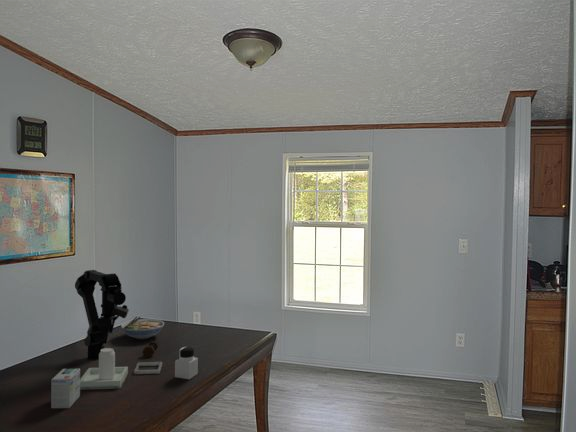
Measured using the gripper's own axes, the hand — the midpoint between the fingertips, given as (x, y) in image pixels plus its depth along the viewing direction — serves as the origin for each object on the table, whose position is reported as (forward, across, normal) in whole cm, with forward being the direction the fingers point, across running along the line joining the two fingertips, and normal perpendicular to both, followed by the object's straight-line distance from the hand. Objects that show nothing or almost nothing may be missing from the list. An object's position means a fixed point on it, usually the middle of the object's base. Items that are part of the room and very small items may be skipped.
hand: (108, 335), depth 212 cm
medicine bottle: (+13, -18, -36) cm, 42 cm away
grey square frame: (+13, -9, -19) cm, 25 cm away
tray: (+13, -21, -3) cm, 25 cm away
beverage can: (+12, -21, -4) cm, 24 cm away
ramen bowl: (+13, +41, -9) cm, 44 cm away
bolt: (+14, +16, -17) cm, 27 cm away
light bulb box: (+13, -40, +6) cm, 43 cm away
